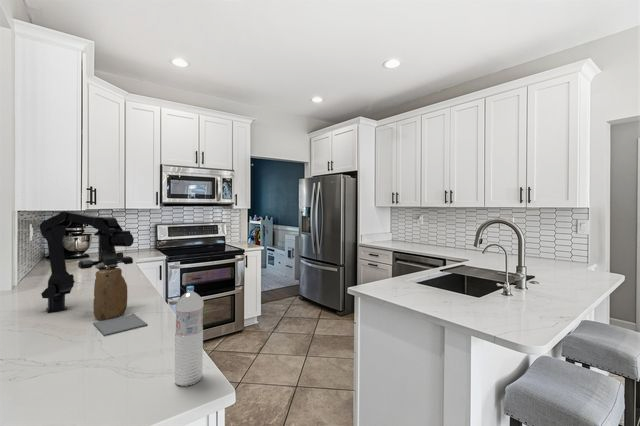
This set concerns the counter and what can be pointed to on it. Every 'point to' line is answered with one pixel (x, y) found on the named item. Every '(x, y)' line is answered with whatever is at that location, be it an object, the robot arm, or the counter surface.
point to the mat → (119, 324)
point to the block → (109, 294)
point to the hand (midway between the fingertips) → (106, 282)
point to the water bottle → (189, 338)
